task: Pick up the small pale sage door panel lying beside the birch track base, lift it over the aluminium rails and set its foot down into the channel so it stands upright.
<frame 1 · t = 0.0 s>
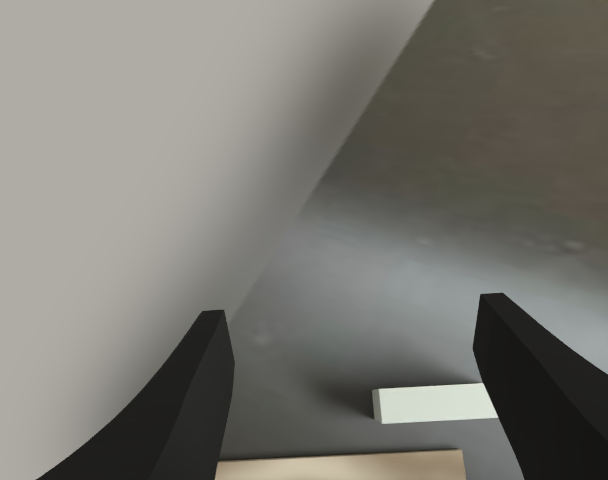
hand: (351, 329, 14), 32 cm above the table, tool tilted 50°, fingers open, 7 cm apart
door panel: (429, 401, 44), on the table
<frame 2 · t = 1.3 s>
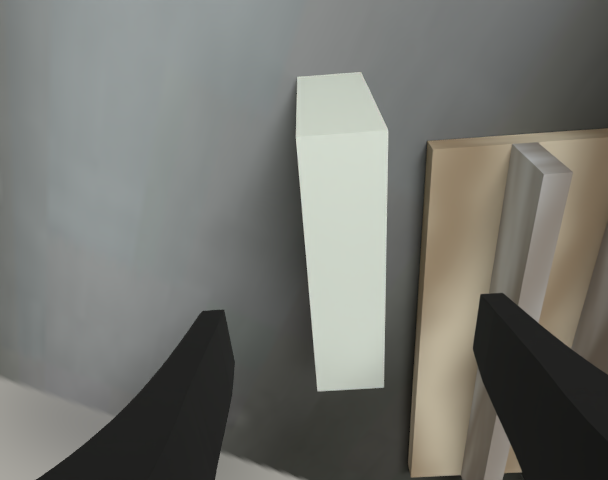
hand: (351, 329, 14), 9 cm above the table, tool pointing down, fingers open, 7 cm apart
door panel: (334, 189, 22), on the table
door track base: (528, 330, 26), on the table
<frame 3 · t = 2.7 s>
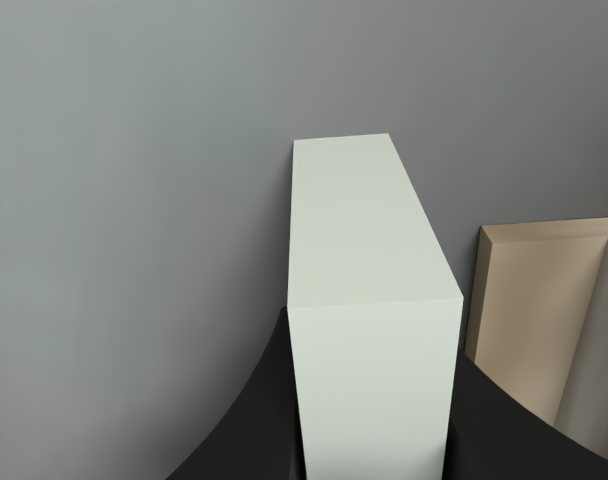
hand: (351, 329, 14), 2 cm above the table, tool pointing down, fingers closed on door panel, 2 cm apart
door panel: (346, 287, 15), on the table, touching gripper
door track base: (599, 450, 20), on the table
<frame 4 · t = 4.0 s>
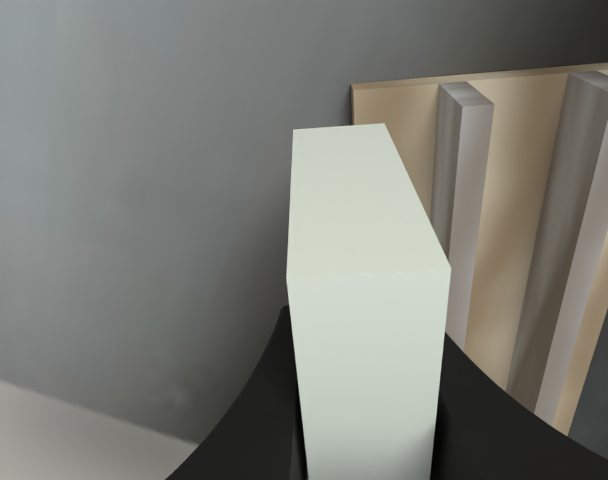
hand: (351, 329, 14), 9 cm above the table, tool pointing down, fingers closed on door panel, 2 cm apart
door panel: (344, 274, 16), point 6 cm above the table, touching gripper
door track base: (476, 297, 24), on the table
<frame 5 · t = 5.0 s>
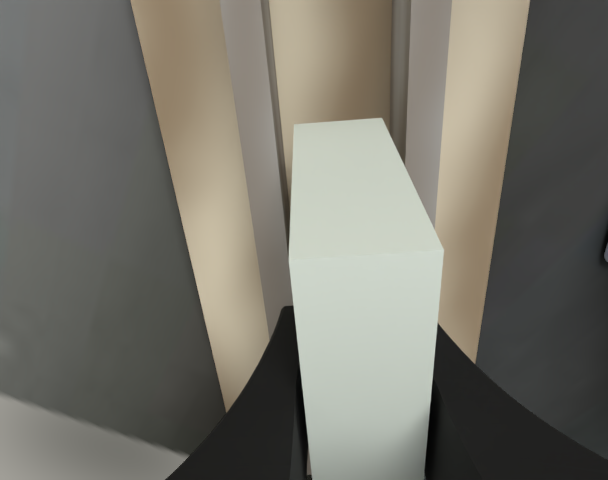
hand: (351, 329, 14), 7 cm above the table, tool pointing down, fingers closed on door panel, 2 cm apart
door panel: (343, 266, 16), point 4 cm above the table, touching gripper
door track base: (338, 215, 20), on the table
when the fingers open (5 cm above the table, at t = 5.6 s): door panel stays where it is, resting on door track base.
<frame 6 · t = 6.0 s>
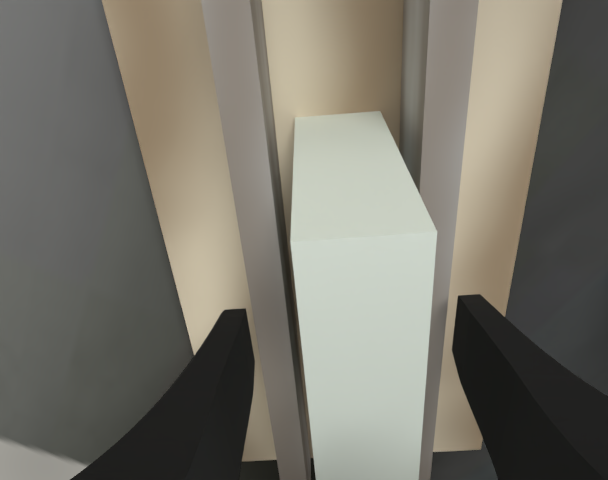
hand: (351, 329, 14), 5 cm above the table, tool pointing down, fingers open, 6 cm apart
door panel: (343, 256, 17), point 1 cm above the table, touching door track base
door track base: (340, 243, 18), on the table
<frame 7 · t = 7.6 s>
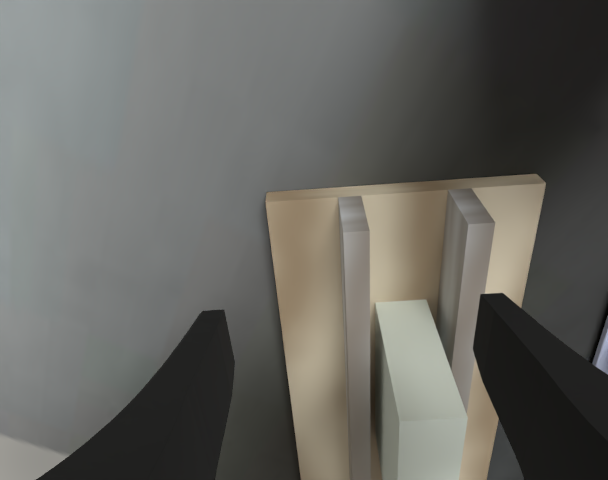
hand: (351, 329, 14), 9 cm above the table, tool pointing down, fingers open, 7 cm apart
door panel: (398, 373, 27), point 1 cm above the table, touching door track base
door track base: (394, 361, 27), on the table
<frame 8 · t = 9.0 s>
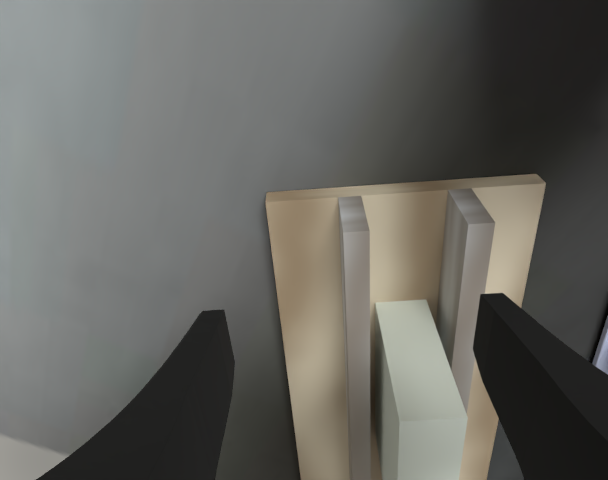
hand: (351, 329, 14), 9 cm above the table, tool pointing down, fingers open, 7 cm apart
door panel: (398, 373, 27), point 1 cm above the table, touching door track base
door track base: (394, 361, 27), on the table
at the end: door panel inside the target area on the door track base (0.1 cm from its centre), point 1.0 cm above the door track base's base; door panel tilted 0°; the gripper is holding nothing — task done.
